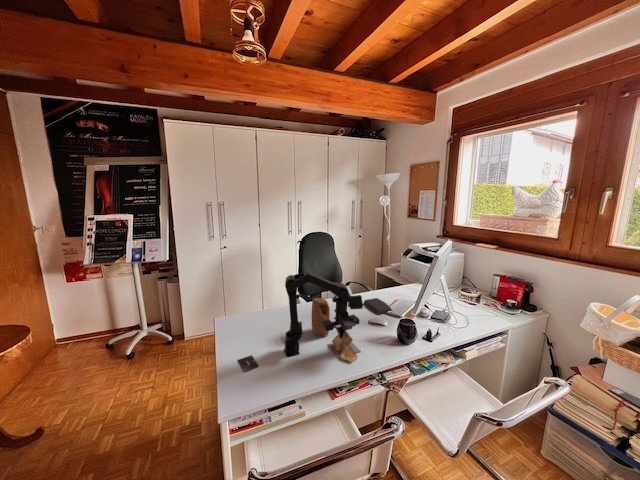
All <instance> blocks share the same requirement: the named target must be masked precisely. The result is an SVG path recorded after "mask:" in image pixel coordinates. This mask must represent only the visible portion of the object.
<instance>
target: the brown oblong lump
mask: <svg viewBox="0 0 640 480" xmlns="http://www.w3.org/2000/svg"><path fill="white" fill-rule="evenodd" d="M330 310H331V309H330V306H329V303H328V301H327V300H326V299H324V298H322V297H319V298H316V297H315V298H313V299H312V301H311V328H312V329H311V330H312V332H313V334H314V335H316V336H318V337H327V336H328V335H329V332H330V331H326V330H325V329H324V327H323V326H322V322H323V321H326V320H330V316H331V314H330Z"/></svg>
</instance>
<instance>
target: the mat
mask: <svg viewBox="0 0 640 480" xmlns="http://www.w3.org/2000/svg"><path fill="white" fill-rule="evenodd" d="M349 345H350V347H351V348H352V349H353V350H354V352H355V353H356V354H358V353H361V350H360V349H359V347H358V346H356V345H355V344H354V343H353V342H352V341H351V343H350V344H349ZM327 346H328V348H329V349H330V350H331V351H332V352H333V354H334V355H335V356H336V358H338V359H341V354H342V352H343V351H344V350H343V351H342V352H341V353H340V352H339V351H338V350H336V348H335V346H334V344H333V342H331V343H328V344H327Z"/></svg>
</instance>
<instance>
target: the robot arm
mask: <svg viewBox="0 0 640 480" xmlns="http://www.w3.org/2000/svg"><path fill="white" fill-rule="evenodd" d="M284 280H285V281H284V282H285V283H284V287H285V290H286V293H287V296H288V305H289V318H290V323H289V330H288V331H286V332H285V339H284V349H283V352H284V354H285V355H286V357H287V358H290V357H293V356H297V355H300V342H299V341H300V340H301V339H302V336H303V335H304V334H303V333H304V332H303V324H302V323H303V322H302V321H299V318H298V317H299V316H298V314H299V313H298V305H297V304H298V303H297V302H298V301H297V293H298V288H299V287H301V286H304V285H305V284H306V283H311V284H313V285H315V286H318V287H320V288H322V289H325V290H327V291H329V292H330V293H332V294H333V295H334V296H333V297H332V298H331V300H332V303H335V309H334V313H335V316H334V317H333V318H334V321H332V320H330V319H329V320H326V321H323V322H322V326H323V327H324V329H325V330H326V331H329V332H331V331H333V330H334V329H335V330H336V332H337V335H339V337H340V338H342V336H343V334H344V332H345V331H348V330H352V329H353V327H355V326H356V325H360V318H359V317H358V316H357V315H355V314H350V315H349V312H348V308H349V309H350V310H362V309H363V308H364V304H363V303H364V302H363V299H362V297H363V296H362V295H361V294H357V295H351V294H350V292H349V289H348V288H347V286H346V285H345V284H344V283H342V282H334V281H331V280H328V279H325V278H323V277H321V276H319V275H316V274H314V273H312V272H310V271H304V272H302V273H297V274H294V275H293V274H289V275H288V276H286V277H285V279H284Z"/></svg>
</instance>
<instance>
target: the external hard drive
mask: <svg viewBox="0 0 640 480" xmlns="http://www.w3.org/2000/svg"><path fill="white" fill-rule="evenodd" d="M362 303H363V306H364V307H366V308H367V309H368V310H369V311H371V312H372V313H373V314H375V315H377V316H382V314H383V315H387V314H386V313H387V312H388V311H392V312H393V309H392V307H391V306H390V305H389V304H387V302H385V301H383V300H381V299H379V298H378V297H375V298H367V299H364V301H363V302H362Z"/></svg>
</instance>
